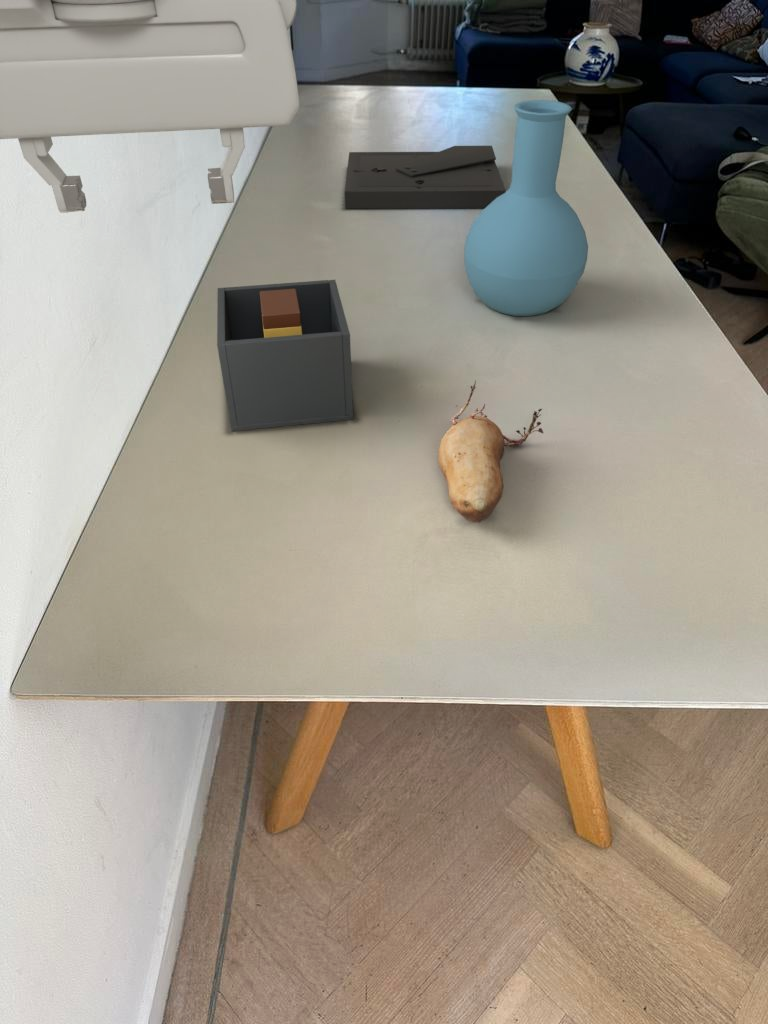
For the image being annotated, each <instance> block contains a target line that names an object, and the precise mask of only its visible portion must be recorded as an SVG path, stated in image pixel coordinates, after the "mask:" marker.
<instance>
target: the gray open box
mask: <svg viewBox="0 0 768 1024" xmlns="http://www.w3.org/2000/svg"><path fill="white" fill-rule="evenodd" d="M283 289H296V294H297V299H298V304H299V310H300V318H301V327H302V335H293V336H280V337H268V338H264V330H263V321H262V311H261V301H260V291H270V290H283ZM339 292H340V291H339V288H338V285H337V281H336V279H324V280H323V279H322V280H309V281H298V282H297V281H295V282H283V283H282V282H281V283H269V284H268V283H267V284H256V285H254V284H253V285H242V286H241V285H240V286H228V287H217V294H216V295H217V299H216V300H217V306H216V307H217V309H216V311H217V313H216V314H217V315H216V317H217V319H216V322H217V323H216V337H217V338H216V347H217V353H218V360H219V366H220V372H221V377H222V383H223V391H224V395H225V401H226V402H225V403H226V407H227V415H228V420H229V424H230V431H231V432H235V431H236V432H237V431H246V430H248V431H249V430H256V429H268V428H277V427H278V428H279V427H288V426H290V427H291V426H297V425H298V426H299V425H309V424H310V425H311V424H319V423H331V422H341V421H351V420H352V421H353V420H354V410H353V409H354V407H353V406H354V405H353V379H352V377H353V375H352V355H351V354H352V352H351V333H350V330H349V325H348V322H347V318H346V314H345V311H344V307H343V303H342V300H341V296H340V293H339Z"/></svg>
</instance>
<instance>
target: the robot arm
mask: <svg viewBox="0 0 768 1024" xmlns="http://www.w3.org/2000/svg"><path fill="white" fill-rule="evenodd" d="M297 11H298V0H0V140H12V139H13V140H14V139H17V140H18V142H19V146H20V150H21V152H22V153H21V154H22V156H23V159H24V160H25V161H26V162H27V163H28V164H29V165H30V166H31V167H32V168H33V169H34V171H35V172H36V173H37V174H38V175H39V176H40V177H41V179H43V180H44V182H45V183H46V184H47V185H48V186H51V188H52V192H53V195H54V199H55V203H56V207H57V209H58V211H59V213H60V214H61V213H62V214H65V213H67V214H68V213H76V212H85V210H86V207H87V198H86V194H85V192H84V191H83V190H82V189H83V183H82V179H81V175H67V174H66V173H65V171H64V170H63V169H62V167H60V165H59V164H58V163H57V162H56V161H55V159H54V157H52V156H51V154H50V153H49V152H50V150H51V149H52V147H53V144H54V143H53V139H52V138H55V137H57V138H59V137H76V136H77V137H79V136H97V135H117V134H120V135H121V134H139V133H141V134H143V133H159V132H181V131H201V130H202V131H203V130H219V133H220V140H221V146H222V147H223V148H227V149H226V152H225V154H224V157H223V159H222V162H221V165H220V167H212V168H211V167H209V168H207V183H208V188H209V189H210V195H209V196H210V201H211V205H214V204H232V203H235V192H234V184H233V176H234V174H235V171H236V169H237V167H238V164H239V161H240V159H241V157H242V155H243V152H244V150H245V148H246V143H245V134H244V128H264V127H281V126H282V127H283V126H288V125H290V124H291V122H292V121H293V119H294V118H295V117H296V115H297V113H298V112H299V110H300V98H299V97H300V95H299V88H298V80H297V74H296V73H297V72H296V66H295V61H294V55H293V50H292V46H291V41H290V37H289V32H288V31H289V29H290V28H291V26H292V25H293V23H294V21H295V19H296V16H297V13H298V12H297Z"/></svg>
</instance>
